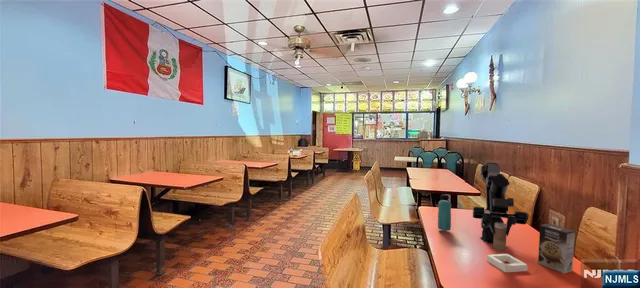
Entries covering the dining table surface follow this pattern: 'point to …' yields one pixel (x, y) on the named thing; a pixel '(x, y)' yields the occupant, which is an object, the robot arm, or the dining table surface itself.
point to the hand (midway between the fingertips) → (500, 234)
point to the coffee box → (556, 247)
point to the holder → (512, 267)
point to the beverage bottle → (444, 213)
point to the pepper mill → (500, 237)
